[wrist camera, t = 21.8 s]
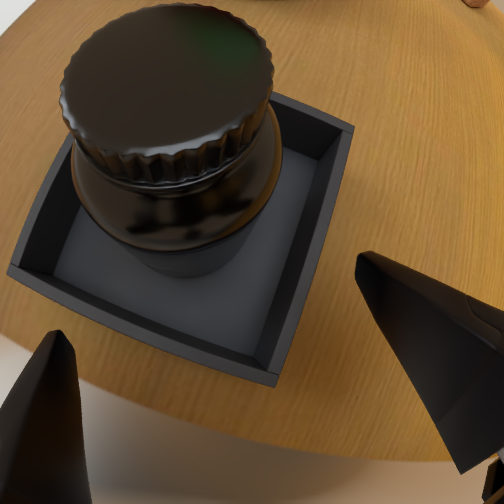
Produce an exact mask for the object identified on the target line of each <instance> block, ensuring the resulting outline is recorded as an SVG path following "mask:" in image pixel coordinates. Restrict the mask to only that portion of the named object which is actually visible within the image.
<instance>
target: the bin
mask: <svg viewBox="0 0 504 504" xmlns="http://www.w3.org/2000/svg"><path fill="white" fill-rule="evenodd" d="M269 104H270V105H271V107H272V109H273V111H274V113H275V115H276V117H277V120H278V123H279V126H280V129H281V133H282V139H283V162H282V168H281V172H280V176H279V179H278V182H277V184H276V187H275V189H274V192H273V194H272V196H271V198H270V200H269V202H268V203H267V205H266V207H265V209H264V210H263V212H262V214H261V215H260V217H259V219H258V221H257V222H256V224H255V226H254V227H253V229H252V231H251V233H250V234H249V236H248V238H247V239H246V241H245V243H244V244H243V246H242V248H241V249H240V250H239V252H238V253H237V254H236V256H235V257H234V258H233V259H232V260H231V261H230V262H228V263H227V264H226V265H225V266H223V267H222V268H220V269H219V270H217V271H215V272H213V273H211V274H208V275H205V276H202V277H198V278H190V279H182V278H173V277H169V276H165V275H163V274H160V273H158V272H156V271H154V270H152V269H151V268H149V267H147V266H146V265H145V264H143V263H142V262H141V261H139V260H138V259H137V258H135V257H134V256H133V255H132V254H130V253H129V252H128V251H127V250H125V249H124V248H123V247H122V246H120V245H119V244H118V243H117V242H115V241H114V240H113V239H112V238H111V237H109V236H108V235H107V234H106V233H105V232H104V231H102V230H101V229H100V228H99V227H98V226H97V225H96V224H95V222H94V221H93V220H92V219H91V218H90V217H89V215H88V214H87V212H86V211H85V210H84V208H83V206H82V204H81V203H80V201H79V199H78V196H77V194H76V191H75V188H74V184H73V180H72V173H71V153H72V146H73V141H74V138H73V135H72V133H71V132H69V134H68V136H67V137H66V139H65V141H64V143H63V144H62V146H61V148H60V150H59V152H58V154H57V155H56V157H55V159H54V161H53V163H52V165H51V167H50V169H49V171H48V173H47V175H46V177H45V179H44V181H43V183H42V185H41V187H40V189H39V191H38V193H37V196H36V198H35V200H34V202H33V205H32V207H31V209H30V211H29V214H28V216H27V219H26V221H25V223H24V226H23V228H22V231H21V234H20V236H19V239H18V241H17V244H16V247H15V250H14V252H13V255H12V258H11V261H10V262H11V263H10V264H9V267H8V270H7V273H6V274H7V275H8V276H9V277H11V278H13V279H15V280H16V281H18V282H20V283H22V284H23V285H25V286H27V287H29V288H30V289H32V290H34V291H36V292H38V293H40V294H41V295H43V296H45V297H47V298H49V299H51V300H53V301H55V302H57V303H59V304H60V305H62V306H64V307H66V308H68V309H70V310H72V311H74V312H76V313H78V314H80V315H83V316H85V317H87V318H89V319H91V320H93V321H95V322H97V323H99V324H102V325H104V326H106V327H108V328H110V329H113V330H115V331H117V332H119V333H122V334H124V335H126V336H129V337H131V338H133V339H136V340H138V341H141V342H143V343H145V344H148V345H150V346H153V347H155V348H158V349H160V350H163V351H165V352H168V353H171V354H173V355H176V356H178V357H181V358H184V359H187V360H189V361H192V362H195V363H198V364H200V365H203V366H206V367H209V368H212V369H215V370H218V371H221V372H224V373H227V374H230V375H233V376H236V377H239V378H243V379H246V380H249V381H252V382H256V383H259V384H262V385H266V386H269V387H273V388H275V387H276V384H277V382H278V379H279V375H280V374H281V371H282V368H283V365H284V363H285V360H286V357H287V354H288V351H289V349H290V346H291V343H292V340H293V337H294V334H295V332H296V329H297V326H298V323H299V320H300V317H301V314H302V311H303V308H304V305H305V302H306V299H307V296H308V293H309V290H310V286H311V283H312V280H313V277H314V274H315V271H316V267H317V264H318V261H319V258H320V254H321V251H322V248H323V244H324V241H325V238H326V234H327V231H328V227H329V224H330V220H331V217H332V213H333V210H334V206H335V203H336V199H337V195H338V192H339V188H340V184H341V180H342V177H343V173H344V169H345V165H346V161H347V157H348V153H349V149H350V145H351V141H352V137H353V132H354V128H355V126H353V125H351V124H349V123H347V122H345V121H343V120H340V119H338V118H336V117H334V116H332V115H329V114H327V113H325V112H323V111H320V110H318V109H316V108H313V107H311V106H309V105H306V104H304V103H301V102H299V101H296V100H294V99H291V98H289V97H286V96H284V95H281V94H279V93H276V92H273V91H272V93H271V96H270V99H269Z"/></svg>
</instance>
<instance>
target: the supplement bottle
mask: <svg viewBox="0 0 504 504" xmlns="http://www.w3.org/2000/svg"><path fill="white" fill-rule="evenodd" d="M271 59H272V53H271V52H270V51H269V49H268V48H267V47H266V41H265V40H264V39H263V38H262V37H261V36H259V35H258V33H257V30H256V29H255V28H253V27H251V26H249V25H247V23H246V22H245V21H244V20H243V19H241V18H238V17H235V16H233V15H232V14H231V13H230V12H227V11H222V10H219V9H217V8H215V7H212V6H202V5H200V4H196V3H195V4H184V3H173V4H159V5H156V6H153V7H145V8H141V9H139V10H137V11H135V12H130V13H126V14H124V15H123V16H121V17H120V18H118V19H115V20H112V21H110V22H108V23H107V24H106V25H105V26H104V27H102V28H101V29H99V30H97V31H95V32H94V33H93V34H92V36H91V37H90V38H89V39H87V40H86V41H84V42H83V43H82V44H81V46H80V48H79V50H78V51H77V52H76V53H75V54H74V55H73V56H72V57H71V61H70V64H69V65H68V66H67V67H66V69H65V70H64V78H63V80H62V82H61V84H60V90H61V95H60V99H59V105H60V107H61V109H62V116H63V120H64V122H65V124H66V126H67V127H68V129H69V130H70V132H71V133H72V135H73V138H74V141H73V146H72V153H71V173H72V180H73V184H74V188H75V191H76V194H77V196H78V199H79V201H80V203H81V204H82V206H83V208H84V210H85V211H86V212H87V214H88V215H89V217H90V218H91V219H92V220H93V221H94V222H95V224H96V225H97V226H98V227H99V228H100V229H101V230H102V231H104V232H105V233H106V234H107V235H108V236H109V237H111V238H112V239H113V240H114V241H115V242H117V243H118V244H119V245H120V246H122V247H123V248H124V249H125V250H127V251H128V252H129V253H130V254H132V255H133V256H134V257H135V258H137V259H138V260H139V261H141V262H142V263H143V264H145V265H146V266H147V267H149V268H151V269H152V270H154V271H156V272H158V273H160V274H163V275H165V276H169V277H173V278H182V279H190V278H198V277H202V276H205V275H208V274H211V273H213V272H215V271H217V270H219V269H220V268H222V267H223V266H225V265H226V264H227V263H228V262H230V261H231V260H232V259H233V258H234V257H235V256H236V254H237V253H238V252H239V250H240V249H241V248H242V246H243V244H244V243H245V241H246V239H247V238H248V236H249V234H250V233H251V231H252V229H253V227H254V226H255V224H256V222H257V221H258V219H259V217H260V215H261V214H262V212H263V210H264V209H265V207H266V205H267V203H268V202H269V200H270V198H271V196H272V194H273V192H274V189H275V187H276V184H277V182H278V179H279V176H280V172H281V168H282V162H283V139H282V133H281V129H280V126H279V123H278V120H277V117H276V115H275V113H274V111H273V109H272V107H271V105H270V104H269V99H270V96H271V93H272V90H273V80H272V79H273V76H274V66H273V64H272V62H271Z"/></svg>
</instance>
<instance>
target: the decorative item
mask: <svg viewBox="0 0 504 504" xmlns="http://www.w3.org/2000/svg"><path fill="white" fill-rule="evenodd" d="M463 1H464V2H465V3H466V4H467V5H468V6H470V7H481V8H482V7H484V6H485V5H486V4H487V3H488V2H489V1H490V0H463Z"/></svg>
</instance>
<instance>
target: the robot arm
mask: <svg viewBox="0 0 504 504" xmlns="http://www.w3.org/2000/svg"><path fill="white" fill-rule="evenodd" d="M355 280H356V283H357V285H358V287H359V289H360V291H361V293H362V295H363V297H364V299H365V301H366V303H367V305H368V307H369V309H370V311H371V313H372V315H373V317H374V319H375V321H376V323H377V325H378V326H379V328H380V330H381V331H382V333H383V335H384V336H385V338H386V339H387V341H388V343H389V344H390V346H391V348H392V349H393V351H394V353H395V354H396V356H397V358H398V360H399V361H400V363H401V365H402V366H403V368H404V370H405V372H406V373H407V375H408V377H409V378H410V380H411V382H412V384H413V386H414V387H415V389H416V391H417V393H418V394H419V396H420V398H421V400H422V402H423V403H424V405H425V407H426V409H427V411H428V413H429V414H430V416H431V418H432V420H433V422H434V424H436V425H435V426H436V428H437V430H438V432H439V433H440V435H441V437H442V439H443V441H444V443H445V445H446V447H447V449H448V451H449V453H450V455H451V457H452V459H453V461H454V463H455V465H456V467H457V469H458V471H459V472H460V474H461V475H462V474H463V473H465V472H467V471H468V470H470V469H472V468H473V467H475V466H476V465H478V464H479V463H481V462H483V461H484V460H486V459H487V458H489V457H490V456H491V455H493V454H494V453H496V452H497V454H498V456H499V457H498V458H497V459H496V460H495V461H494V462H493V463H492V464H490V465H489V466H488V471H487V476H486V481H485V485H484V489H483V493H482V499H483V501H484V503H483V504H504V311H502V310H500V309H497V308H495V307H493V306H490V305H488V304H486V303H484V302H482V301H479V300H477V299H475V298H473V297H471V296H469V295H466V294H465V293H463V292H461V291H459V290H456V289H454V288H452V287H450V286H448V285H446V284H444V283H442V282H439V281H437V280H435V279H433V278H431V277H429V276H427V275H424V274H422V273H420V272H418V271H416V270H413V269H411V268H409V267H407V266H405V265H402V264H400V263H398V262H396V261H393V260H391V259H389V258H387V257H384V256H382V255H380V254H377V253H375V252H373V251H366V252H362V253H360V254H358V256H357V261H356V268H355ZM86 467H87V466H86V458H85V450H84V439H83V427H82V412H81V397H80V389H79V381H78V373H77V365H76V355H75V350H74V348H73V346H72V345H71V343H70V342H69V340H68V339H67V338H66V336H65V335H64V333H63V332H62V331H61V330H54V331H50V332H48V333H47V334H46V336H45V337H44V338H43V340H42V341H41V343H40V344H39V346H38V347H37V349H36V350H35V352H34V353H33V355H32V357H31V358H30V360H29V361H28V363H27V364H26V366H25V368H24V369H23V371H22V372H21V374H20V376H19V377H18V379H17V380H16V382H15V384H14V386H13V387H12V389H11V390H10V392H9V394H8V396H7V397H6V399H5V401H4V402H3V404H2V406H1V408H0V504H92V499H91V493H90V487H89V481H88V474H87V468H86Z"/></svg>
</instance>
